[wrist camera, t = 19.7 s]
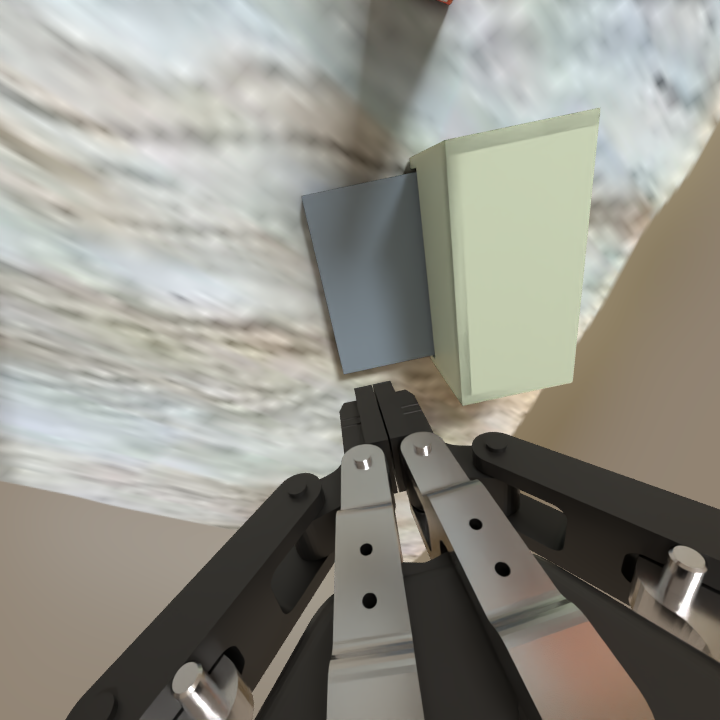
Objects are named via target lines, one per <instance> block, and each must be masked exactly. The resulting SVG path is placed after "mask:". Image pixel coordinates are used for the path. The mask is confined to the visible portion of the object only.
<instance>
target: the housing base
mask: <svg viewBox="0 0 720 720" xmlns="http://www.w3.org/2000/svg"><path fill="white" fill-rule="evenodd" d="M302 201H303V205H304V209H305V213H306V217H307V222H308V226H309V230H310V234H311V238H312V243H313V247H314V251H315V255H316V259H317V264H318V268H319V272H320V276H321V280H322V285H323V289H324V293H325V297H326V301H327V306H328V310H329V314H330V318H331V322H332V327H333V331H334V335H335V339H336V343H337V348H338V352H339V356H340V360H341V364H342V369H343V373H344V374H347V373H352V372H357V371H361V370H366V369H371V368H375V367H380V366H385V365H390V364H394V363H399V362H404V361H408V360H413V359H418V358H422V357H427V356H432V355H435V350H434V340H433V330H432V320H431V310H430V300H429V290H428V280H427V270H426V260H425V250H424V240H423V230H422V221H421V211H420V201H419V191H418V181H417V172H414V173H409V174H404V175H399V176H395V177H390V178H385V179H380V180H375V181H371V182H366V183H361V184H356V185H352V186H347V187H342V188H337V189H332V190H328V191H323V192H318V193H313V194H309V195H304V196H302Z"/></svg>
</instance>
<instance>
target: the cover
mask: <svg viewBox="0 0 720 720" xmlns="http://www.w3.org/2000/svg"><path fill="white" fill-rule="evenodd" d="M599 116H600V108H596V109H592V110H587V111H582V112H577V113H572V114H568V115H563V116H558V117H553V118H549V119H544V120H539V121H534V122H529V123H525V124H520V125H515V126H510V127H505V128H501V129H496V130H491V131H486V132H482V133H477V134H472V135H467V136H462V137H458V138H453V139H448V140H444V141H442V142H440V143H438V144H436V145H434V146H432V147H430V148H428V149H426V150H424V151H422V152H420V153H418V154H416V155H414V156H412V157H410V167H411V169H414V168H416V171H417V181H418V191H419V201H420V211H421V221H422V230H423V240H424V250H425V260H426V270H427V280H428V290H429V300H430V310H431V320H432V330H433V340H434V350H435V355H432V356H431V360H432V362H433V363H434V365H435V366H436V368H437V369H438V370H439V372H440V373H441V375H442V376H443V378H444V379H445V381H446V382H447V384H448V385H449V387H450V388H451V390H452V391H453V393H454V394H455V396H456V397H457V399H458V400H459V402H460V403H461V404H462V406H464V405H469V404H474V403H478V402H483V401H488V400H492V399H497V398H502V397H506V396H511V395H516V394H520V393H525V392H530V391H534V390H539V389H544V388H548V387H553V386H558V385H562V384H567V383H572V382H573V372H574V363H575V353H576V343H577V333H578V323H579V314H580V304H581V294H582V284H583V274H584V264H585V254H586V245H587V235H588V225H589V215H590V205H591V195H592V185H593V175H594V166H595V156H596V146H597V136H598V126H599Z"/></svg>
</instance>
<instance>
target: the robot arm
mask: <svg viewBox="0 0 720 720" xmlns="http://www.w3.org/2000/svg"><path fill="white" fill-rule="evenodd" d="M354 390H355V395H356V400H357V401H352V402H347V403H344V404H343V406H342V408H341V410H340V420H341V428H342V437H343V446H344V456H343V458H342V461H341V465H340V466H339V468H338V469H337V470H335V471H334V472H333V473H331V474H329V475H328V476H326V477H324V478H322V479H319V478H318V477H317V476H315V475H313V474H310V473H301V474H297V475H294V476H292V477H290V478H288V479H287V480H285V481H284V482H283V483H282V484H281V485H280V486H279V487H278V488H277V489H276V490H275V491H274V492H273V494H272V495H271V496H270V497H269V498H268V499H267V500H266V501H265V502H264V503H263V504H262V505H261V506H260V507H259V508H258V510H257V511H256V512H255V513H254V514H253V515H252V516H251V517H250V518H249V519H248V520H247V521H246V522H245V523H244V524H243V526H242V527H241V528H240V529H239V530H238V531H237V532H236V533H235V534H234V535H233V537H231V538H230V539H229V541H228V542H227V543H226V544H225V545H224V546H223V547H222V548H221V549H220V550H219V551H218V552H217V553H216V554H215V555H214V556H213V558H212V559H211V560H210V561H209V562H208V563H207V564H206V565H205V566H204V567H203V568H202V569H201V570H200V571H199V572H198V574H197V575H196V576H195V577H194V578H193V579H192V580H191V581H190V582H189V583H188V584H187V585H186V586H185V587H184V589H183V590H182V591H181V592H180V593H179V594H178V595H177V596H176V597H175V598H174V599H173V600H172V601H171V602H170V604H168V606H167V607H166V608H165V609H164V610H163V611H162V612H161V613H160V614H159V615H158V616H157V617H156V618H155V620H154V621H153V622H152V623H151V624H150V625H149V626H148V627H147V628H146V629H145V630H144V631H143V632H142V633H141V634H140V635H139V636H138V638H137V639H136V640H135V641H134V642H133V643H132V644H131V645H130V646H129V647H128V648H127V649H126V650H125V651H124V652H123V654H122V655H121V656H120V657H119V658H118V659H117V660H116V661H115V662H114V663H113V664H112V665H111V666H110V667H109V668H108V670H107V671H106V672H105V673H104V674H103V675H102V676H101V677H100V678H99V679H98V680H97V681H96V682H95V684H93V686H92V687H91V688H90V689H89V690H88V691H87V692H86V693H85V694H84V695H83V696H82V698H81V699H80V700H79V701H78V702H77V703H76V705H75V706H74V707H73V709H72V711H71V712H70V713H69V715H68V716H67V718H66V720H252V718H253V711H254V700H253V695H252V692H253V690H254V689H255V687H256V685H257V684H258V682H259V681H260V679H261V677H262V676H263V674H264V673H265V671H266V670H267V668H268V666H269V665H270V663H271V662H272V660H273V659H274V657H275V655H276V654H277V652H278V651H279V649H280V648H281V646H282V644H283V643H284V641H285V640H286V638H287V637H288V635H289V633H290V632H291V630H292V628H293V627H294V625H295V624H296V622H297V621H298V619H299V618H300V616H301V614H302V613H303V611H304V609H305V608H306V607H307V605H308V603H309V602H310V600H311V599H312V597H313V595H314V594H315V592H316V591H317V589H318V587H319V586H320V584H321V583H322V581H323V580H324V578H325V576H326V575H327V573H328V572H329V570H330V569H331V567H332V565H333V564H334V562H335V581H334V594H333V595H332V596H331V597H329V598H328V599H327V600H326V601H325V603H324V604H323V605H322V606H321V607H320V608H319V609H318V611H317V612H316V614H315V615H314V616H313V618H312V619H311V621H310V623H309V624H308V626H307V628H306V630H305V632H304V633H303V635H302V637H301V638H300V640H299V642H298V644H297V646H296V647H295V649H294V651H293V653H292V655H291V656H290V658H289V660H288V661H287V663H286V665H285V667H284V668H283V670H282V672H281V674H280V676H279V677H278V679H277V681H276V683H275V684H274V686H273V688H272V690H271V691H270V693H269V695H268V697H267V698H266V700H265V702H264V704H263V706H262V707H261V709H260V711H259V713H258V714H257V716H256V718H255V720H720V510H719V509H717V508H714V507H711V506H708V505H705V504H703V503H700V502H697V501H694V500H691V499H688V498H686V497H682V496H680V495H677V494H674V493H671V492H669V491H666V490H663V489H660V488H657V487H654V486H651V485H649V484H646V483H643V482H640V481H637V480H635V479H632V478H629V477H626V476H623V475H620V474H617V473H615V472H612V471H609V470H606V469H603V468H600V467H597V466H595V465H592V464H589V463H586V462H583V461H581V460H578V459H575V458H572V457H569V456H566V455H564V454H561V453H558V452H555V451H552V450H550V449H547V448H544V447H541V446H538V445H535V444H533V443H530V442H527V441H524V440H521V439H518V438H515V437H513V436H510V435H507V434H504V433H499V432H488V433H484V434H481V435H479V436H477V437H476V438H475V439H474V440H473V443H472V446H458V445H451V444H447V443H445V442H444V441H443V440H442V438H441V437H439V436H438V435H436V434H434V433H433V431H432V429H431V427H430V425H429V423H428V421H427V419H426V417H425V416H424V414H423V412H422V410H421V408H420V406H419V404H418V402H417V400H416V398H415V396H414V395H413V394H411V393H410V392H408V391H407V390H402V391H398V392H395V391H394V388H393V386H392V383H391V381H386V382H382V383H377V384H373V388H372V385H368V386H364V387H359V388H354ZM373 390H374V391H373ZM395 478H396V480H395ZM396 481H397V485H398V488H399V492H403V491H407V495H408V498H409V503H410V509H411V513H412V515H413V517H414V520H415V522H416V525H417V527H418V530H419V532H420V535H421V537H422V540H423V542H424V545H425V547H426V549H427V552H428V554H429V557H430V559H431V560H430V561H428V562H425V563H410V562H403V557H402V551H401V545H400V539H399V533H398V526H397V520H396V514H395V508H396V504H395V498H394V493H398V491H397V486H396ZM520 490H522V491H524V492H526V493H529V494H531V495H533V496H535V497H538V498H540V499H542V500H544V501H546V502H548V503H551V504H553V505H555V506H556V507H558V508H559V509H560V510H562V511H563V513H562V512H560V511H558V510H556V509H554V508H552V507H549V506H547V505H545V504H543V503H541V502H539V501H536V500H534V499H532V498H530V497H528V496H526V495H523V494H521V493H520ZM529 549H530V550H531V551H533V552H535V553H537V554H538V555H540V556H542V557H544V558H546V559H547V560H546V559H544V558H542V557H540V556H538V555H535V554H532V553H531V551H530V550H529ZM550 561H551V562H550ZM552 562H553V563H552ZM557 565H558V566H557ZM559 566H560V567H559ZM562 568H563V569H562ZM564 569H565V570H567V571H569V572H570V573H569V572H567V571H565V570H564ZM571 573H572V574H574V575H576V576H577V577H579V578H581V579H583V580H585V581H586V582H588V583H590V584H592V585H594V586H595V587H597V588H599V589H601V590H603V591H604V592H606V593H608V594H610V595H611V596H613V597H615V598H617V599H619V600H620V601H622V602H624V603H626V604H627V605H629V606H631V608H632V610H631V609H629V608H627V607H626V606H624V605H623V604H621V603H619V602H617V601H616V600H614V599H613V598H611V597H609V596H608V595H606V594H604V593H602V592H601V591H599V590H598V589H596V588H594V587H593V586H591V585H589V584H587V583H586V582H584V581H582V580H581V579H579V578H577V577H576V576H574V575H572V574H571Z"/></svg>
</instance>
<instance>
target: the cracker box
mask: <svg viewBox="0 0 720 720" xmlns="http://www.w3.org/2000/svg"><path fill="white" fill-rule="evenodd" d="M438 1H441V2H443V3H445V4H448V5H450V4H451V3H452V1H453V0H438Z"/></svg>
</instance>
